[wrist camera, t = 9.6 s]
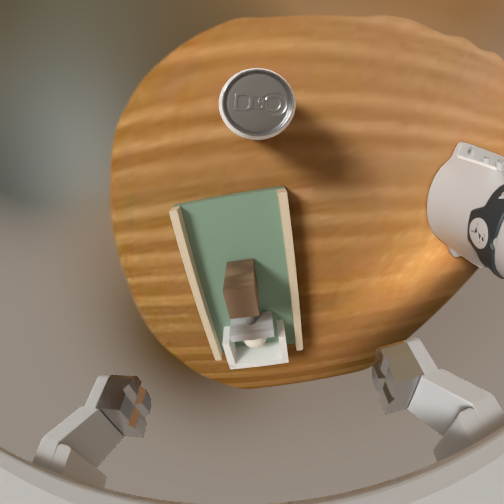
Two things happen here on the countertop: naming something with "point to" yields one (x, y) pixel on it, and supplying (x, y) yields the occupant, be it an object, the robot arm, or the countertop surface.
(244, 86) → the can
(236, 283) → the block
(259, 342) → the ball
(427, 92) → the countertop surface
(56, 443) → the robot arm
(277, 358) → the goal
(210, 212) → the pitch
